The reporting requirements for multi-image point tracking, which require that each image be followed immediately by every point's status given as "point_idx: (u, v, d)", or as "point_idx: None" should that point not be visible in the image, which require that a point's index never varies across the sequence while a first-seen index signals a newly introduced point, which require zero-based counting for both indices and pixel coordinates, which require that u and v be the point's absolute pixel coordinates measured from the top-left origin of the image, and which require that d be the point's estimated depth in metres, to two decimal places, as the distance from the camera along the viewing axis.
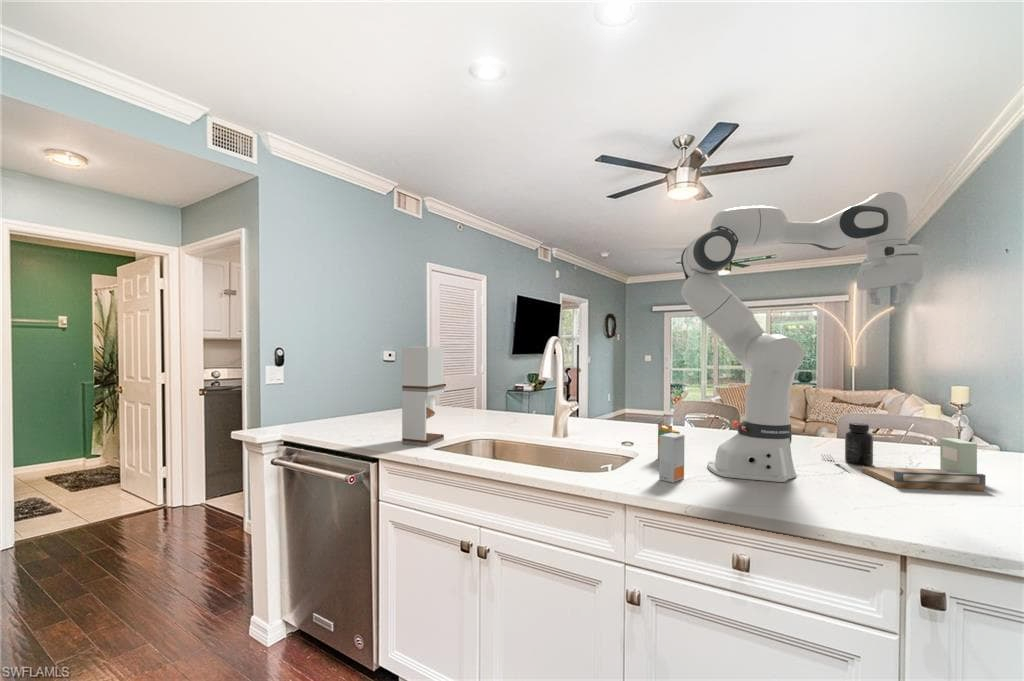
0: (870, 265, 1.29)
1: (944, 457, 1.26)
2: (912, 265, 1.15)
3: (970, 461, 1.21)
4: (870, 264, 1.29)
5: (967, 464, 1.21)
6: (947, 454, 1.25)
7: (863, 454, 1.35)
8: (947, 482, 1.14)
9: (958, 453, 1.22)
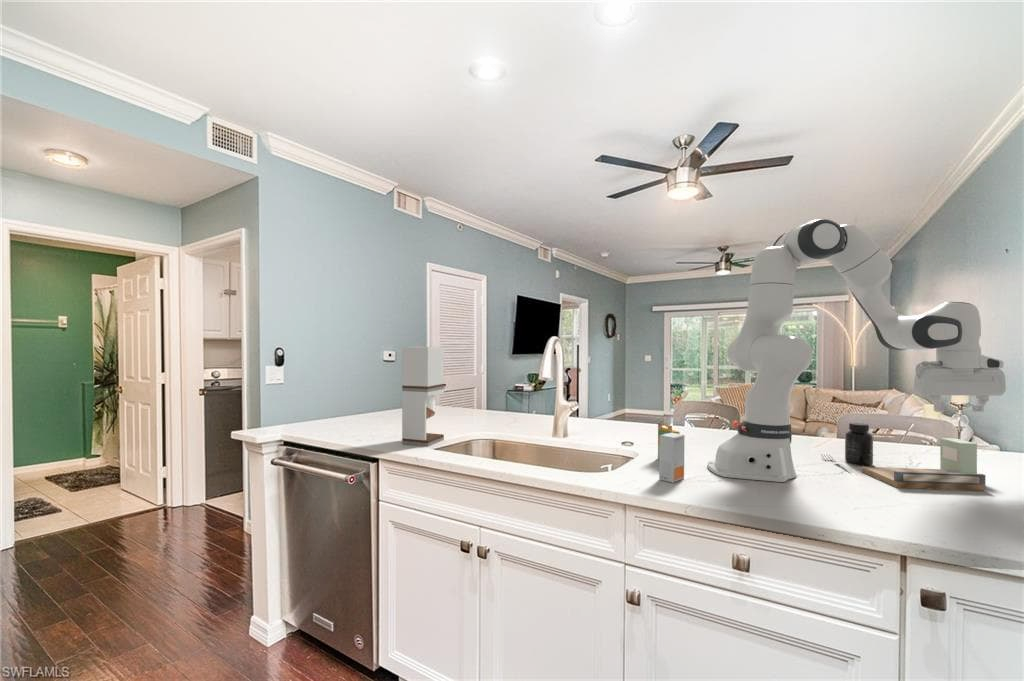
0: (948, 371, 1.23)
1: (944, 457, 1.26)
2: None
3: (970, 461, 1.21)
4: (948, 370, 1.23)
5: (967, 464, 1.21)
6: (947, 454, 1.25)
7: (863, 454, 1.35)
8: (947, 482, 1.14)
9: (958, 453, 1.22)
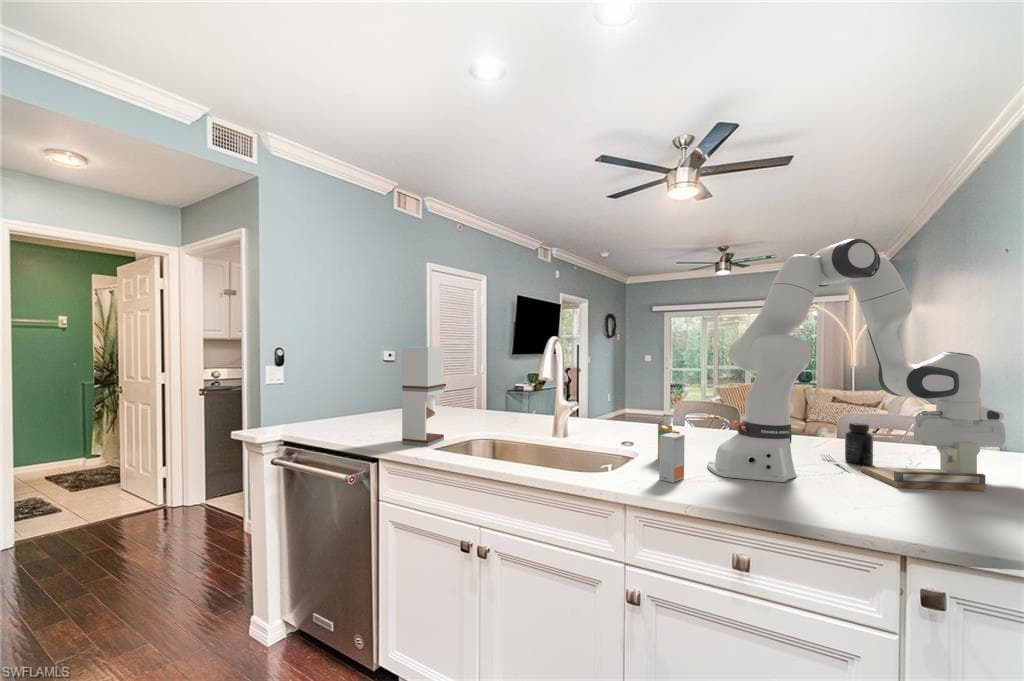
0: (948, 422, 1.23)
1: None
2: None
3: (970, 461, 1.21)
4: (947, 421, 1.23)
5: (967, 464, 1.21)
6: None
7: (863, 454, 1.35)
8: (947, 482, 1.14)
9: (958, 453, 1.22)
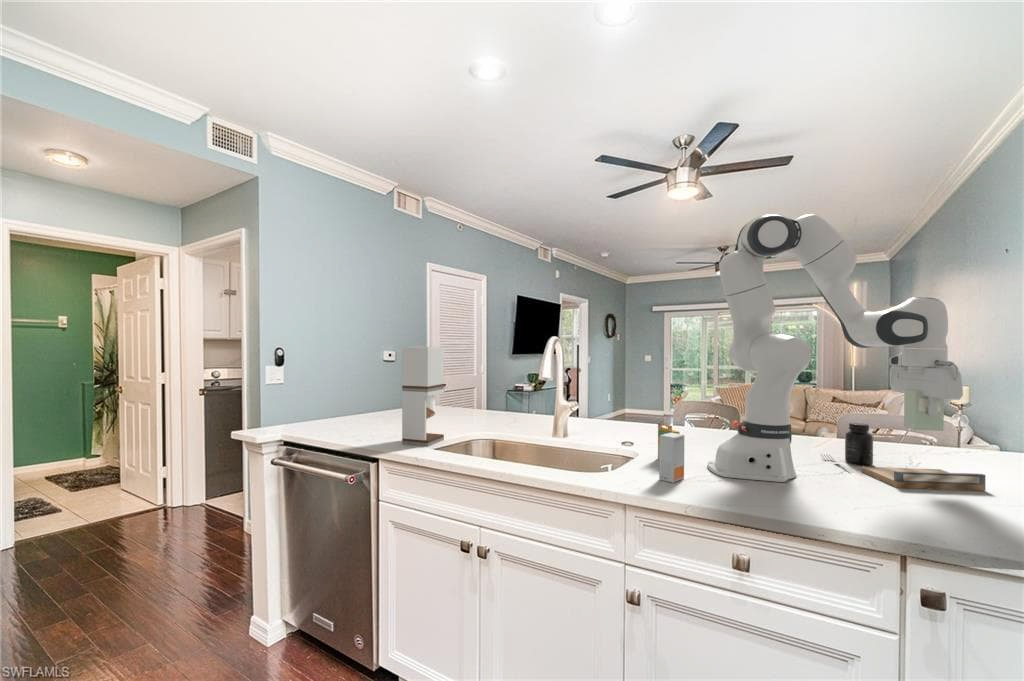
0: None
1: (921, 411, 1.17)
2: None
3: None
4: None
5: None
6: (926, 406, 1.17)
7: (863, 454, 1.35)
8: (947, 482, 1.14)
9: None
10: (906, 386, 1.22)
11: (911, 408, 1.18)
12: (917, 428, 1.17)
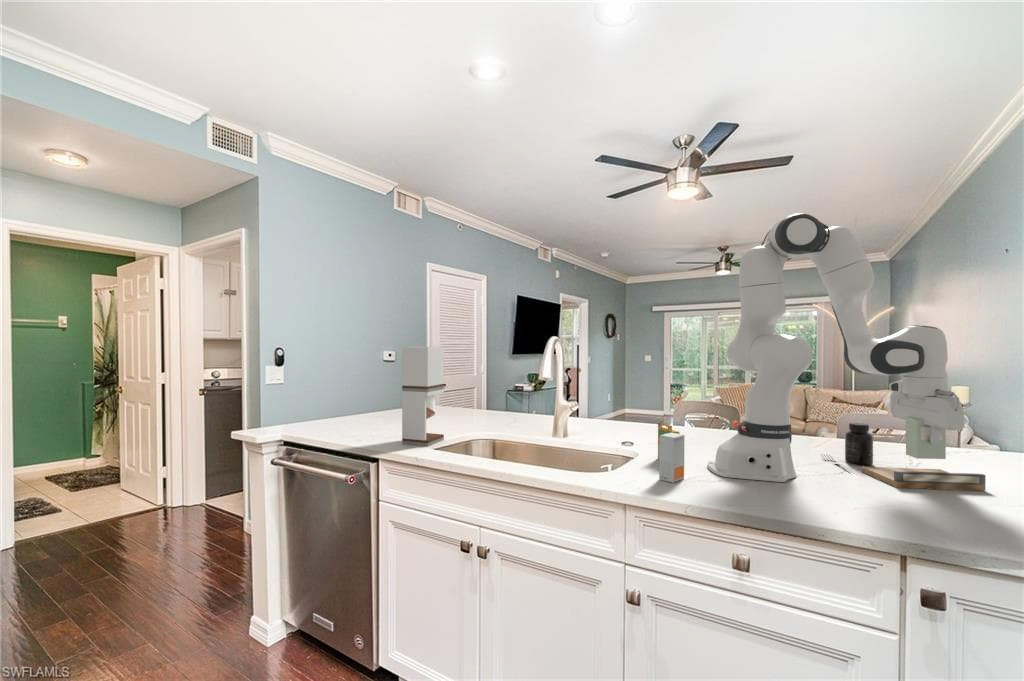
0: None
1: (923, 439, 1.16)
2: None
3: None
4: None
5: None
6: (927, 434, 1.16)
7: (863, 454, 1.35)
8: (947, 482, 1.14)
9: (943, 431, 1.16)
10: (907, 413, 1.22)
11: (913, 436, 1.18)
12: (920, 456, 1.17)
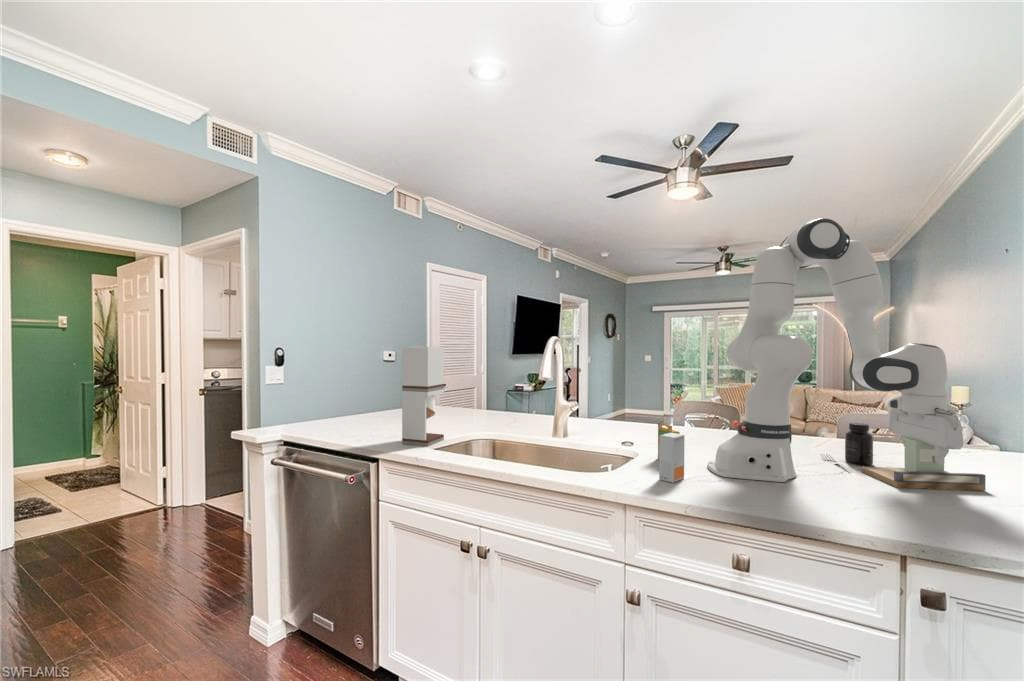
0: None
1: (922, 461, 1.16)
2: None
3: None
4: None
5: None
6: (926, 456, 1.16)
7: (863, 454, 1.35)
8: (947, 482, 1.14)
9: None
10: (906, 430, 1.22)
11: (912, 458, 1.18)
12: None
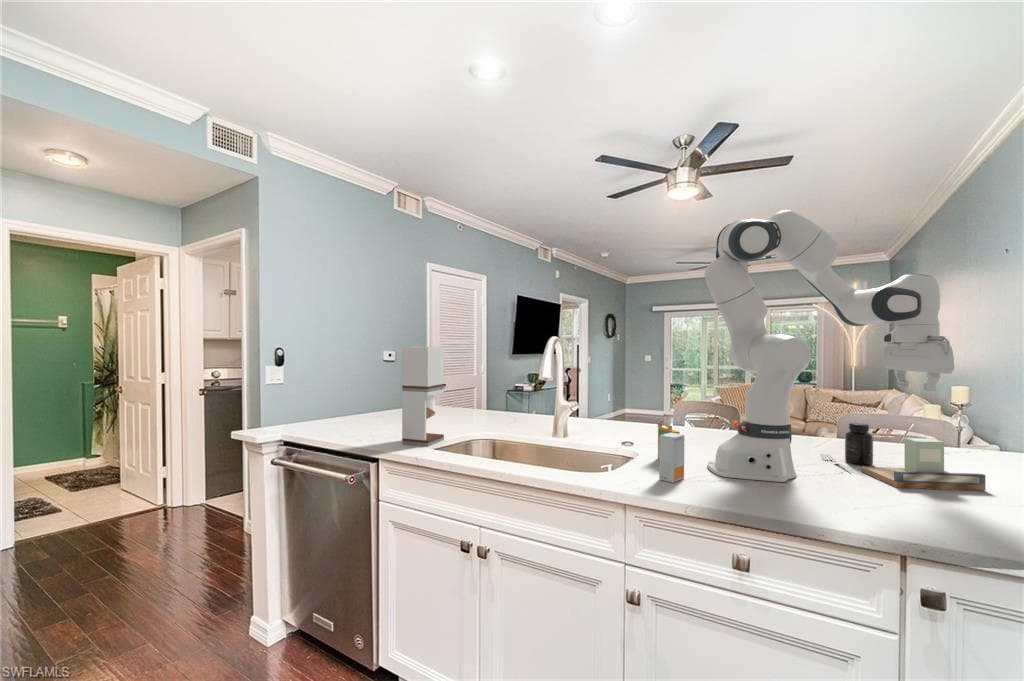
0: None
1: (922, 461, 1.16)
2: None
3: None
4: None
5: None
6: (926, 456, 1.16)
7: (863, 454, 1.35)
8: (947, 482, 1.14)
9: (941, 453, 1.16)
10: (899, 362, 1.24)
11: (912, 458, 1.18)
12: None
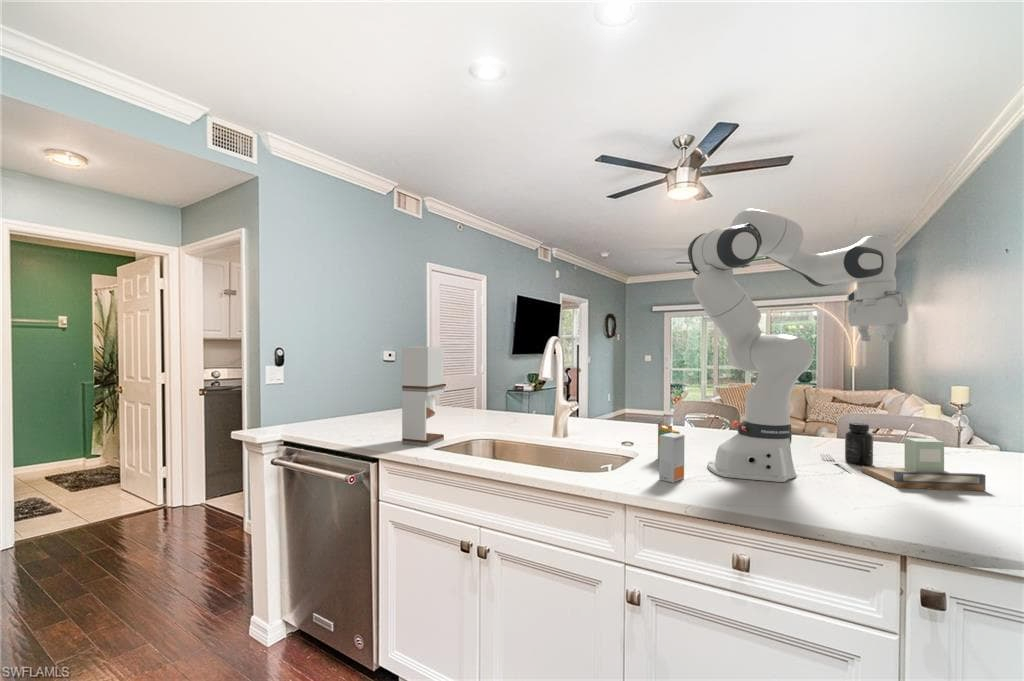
0: None
1: (922, 461, 1.16)
2: None
3: None
4: None
5: None
6: (926, 456, 1.16)
7: (863, 454, 1.35)
8: (947, 482, 1.14)
9: (941, 453, 1.16)
10: (861, 318, 1.34)
11: (912, 458, 1.18)
12: None
